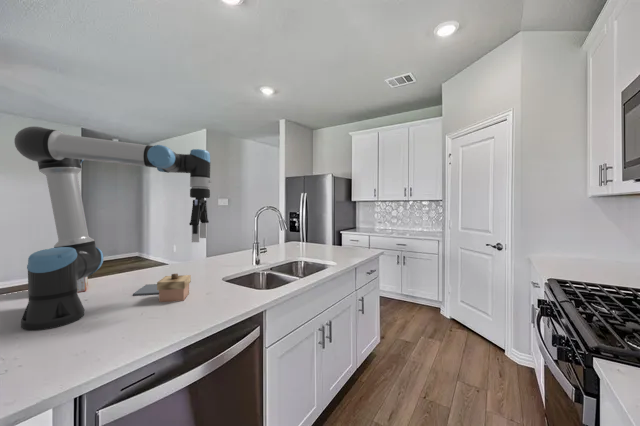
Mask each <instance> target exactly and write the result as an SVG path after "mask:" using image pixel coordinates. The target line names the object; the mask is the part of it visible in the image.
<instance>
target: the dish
mask: <svg viewBox="0 0 640 426" xmlns="http://www.w3.org/2000/svg"><path fill="white" fill-rule="evenodd" d="M189 295H190V283H189V284H188V286H187V287H186V288H185V289H170V290H159V294H158V303H169V302H170V303H171V302H183V301H185V300H186V298H187V297H188V296H189Z"/></svg>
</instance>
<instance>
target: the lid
mask: <svg viewBox="0 0 640 426" xmlns="http://www.w3.org/2000/svg"><path fill="white" fill-rule="evenodd" d="M191 278H192V275H191V274H188V275H187V274H186V275H185V274H183V275H179V274H178V273H172V274H171V275H165V276H164V277H162V278H161V279H159V280H158V281H157V282H156V284H157V290H170V289H185V288H186V287H187V286H188V284H189V285H190V283H192V281H191V280H192V279H191Z"/></svg>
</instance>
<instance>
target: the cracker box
mask: <svg viewBox="0 0 640 426" xmlns="http://www.w3.org/2000/svg"><path fill="white" fill-rule="evenodd" d="M88 284H89V276H87V277H84V278H81V279H79V280H77V293H82V292H86V291H87V289H88V286H89V285H88Z"/></svg>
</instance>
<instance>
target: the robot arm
mask: <svg viewBox="0 0 640 426" xmlns="http://www.w3.org/2000/svg"><path fill="white" fill-rule="evenodd" d="M13 143H14V147H15V148H16V151H18V152H19V153H20V154H21V156H22V157H24V158H26V159H28V160H31V161H33V162H37V165H38V166H37V167H38V170H39V173H42V174H44V175H45V176H46V177H45V178H46V182H47V186H48V187H47V188H48V192H49V197H50V202H51V208H52V213H53V217H54V219H53V220H54V224H55V229H56V235H57V239H58V241H57V242H56V243H55V244H54V246H53V247H51V248H47V249H41V250H37V251H35V252H33V253H31V254H30V255H29V256H28V259H27V264H26V269H27V284H28V285H27V287H28V288H27V289H28V292H27V293H28V301H27V305H26V307H25V309H24V311H23V315H22V316H21V319H20V328H21V329H22V330H24V331H39V330H48V329H53V328H58V327H61V326H65V325H69V324H70V323H71V324H72V323H74V322H77V321H79V320H80V319H82V318H83V317H84V316H85V307H84V305H83V303H82V300H81V299H80V297H79V294H78V292H77V280H79V279H81V278H84V277H87V276H88V277H89V276H92V275H93V274H95V273H96V272H97V271H98V270H99V269H100V268H101V267H102V265H103V263H104V253H103V251H102V250H101V249H100V248H99V247H97V246H96V241H95V239H94V238H92V237H90V236H89V230H88V225H87V220H86V219H87V218H86V215H85V209H84V203H83V199H82V198H83V197H82V194H81V188H80V183H79V177H78V175H79V173H80V172H81V171H82V163H83V162H84V161H93V162H101V163H113V164H121V165H128V166H129V165H130V166H137V167H149V168H154V169H155V168H156V169H157V171H158V172H161V173H176V174H177V173H180V174H189V175H190V177H189V187H190V189H189V197H190V198H193V199H192V208H191V215H190V222H189V226H191V243H200V241H201V239H207V236H208V235H207V233H208V232H207V231H208V230H207V227H208V225H207V224H209V222H210V221H209V219H208V218H209V217H208V208H207V207H208V206H207V200H205V199H210V197H211V190H210V187H211V183H212V180H211V153H210V152H209V150H207V149H199V148H198V149H197V148H196V149H194V148H193V149H190V152H189V153H187V154H185V153H176V152H174V151H173V150H172V149H171V148H170V147H167V146H166V145H161V144H155V145H149V144H141V143H135V142H125V141H117V140H110V139H104V138H94V137H88V136H87V137H86V136H80V135H72V134H66V133H65V132H63V131H62V130H59V129H58V130H57V129H52V128H46V127H41V126H28V127H24V128H22V129H21V130H19V131H18V132H17V133H16V135H15V137H14V142H13Z"/></svg>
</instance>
